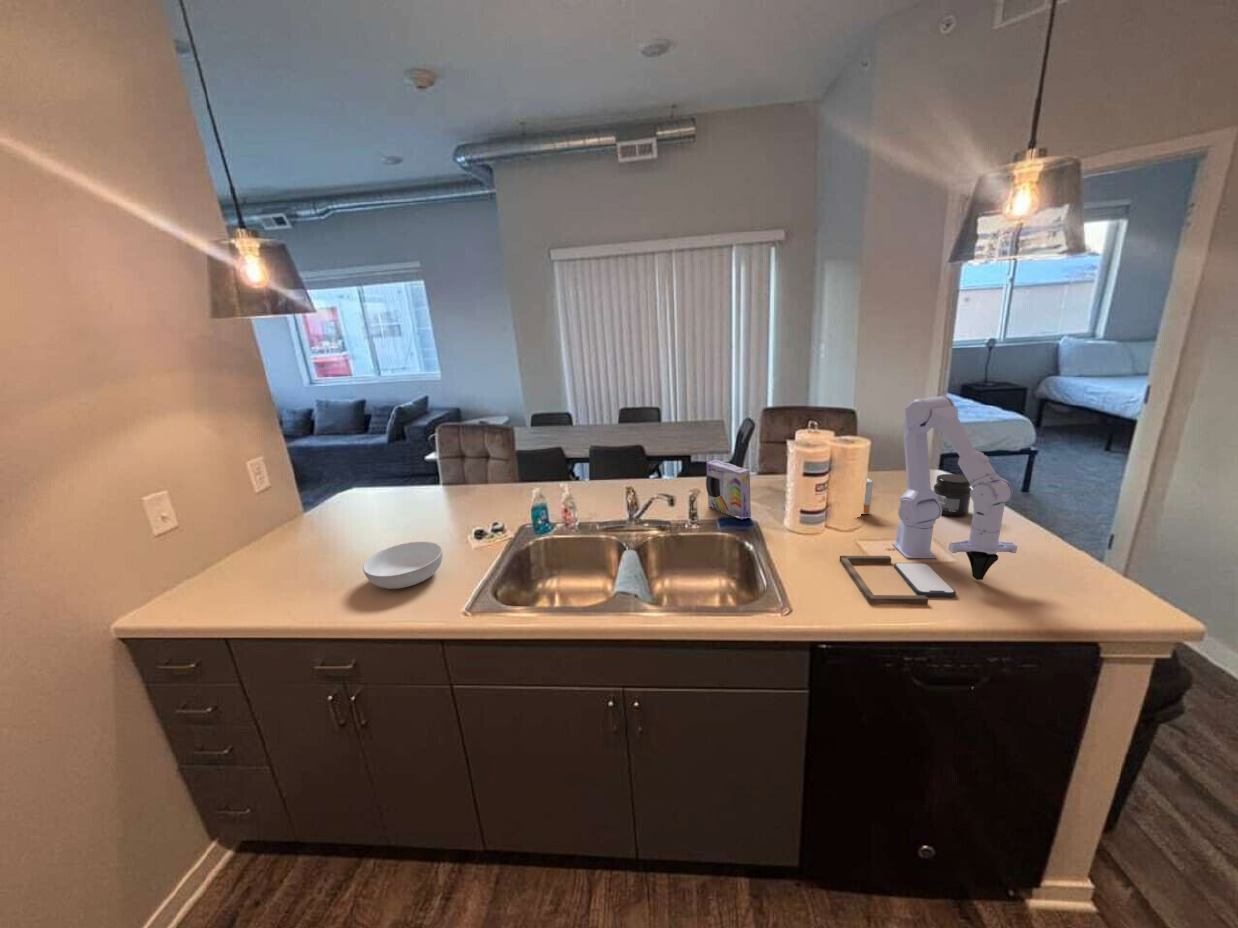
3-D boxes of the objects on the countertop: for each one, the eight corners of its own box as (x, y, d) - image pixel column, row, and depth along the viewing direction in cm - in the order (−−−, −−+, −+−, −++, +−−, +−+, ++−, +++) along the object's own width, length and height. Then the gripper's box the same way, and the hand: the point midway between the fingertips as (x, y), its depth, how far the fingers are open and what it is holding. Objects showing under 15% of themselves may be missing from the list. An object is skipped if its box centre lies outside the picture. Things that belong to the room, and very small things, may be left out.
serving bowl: (371, 571, 148) (366, 550, 146) (444, 556, 155) (441, 536, 153) (363, 605, 129) (358, 582, 127) (447, 587, 136) (443, 564, 134)
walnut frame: (839, 560, 138) (839, 555, 138) (888, 560, 137) (889, 555, 136) (869, 603, 117) (869, 598, 117) (927, 604, 116) (928, 598, 116)
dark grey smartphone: (891, 567, 134) (918, 598, 119) (892, 562, 134) (918, 592, 119) (926, 568, 133) (957, 599, 118) (927, 562, 133) (958, 593, 118)
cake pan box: (705, 506, 184) (704, 460, 179) (715, 503, 186) (715, 457, 181) (740, 522, 168) (741, 472, 163) (751, 519, 170) (752, 470, 165)
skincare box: (851, 515, 168) (853, 481, 165) (847, 510, 172) (850, 477, 169) (870, 515, 167) (873, 481, 164) (866, 510, 171) (868, 477, 168)
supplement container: (967, 508, 168) (972, 475, 165) (969, 520, 159) (974, 484, 156) (930, 504, 173) (934, 472, 170) (930, 515, 165) (935, 481, 161)
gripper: (962, 534, 117) (955, 585, 121) (1029, 534, 116) (1019, 586, 120) (947, 523, 124) (940, 571, 128) (1009, 522, 123) (1001, 571, 126)
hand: (977, 577), depth 124 cm, fingers closed
